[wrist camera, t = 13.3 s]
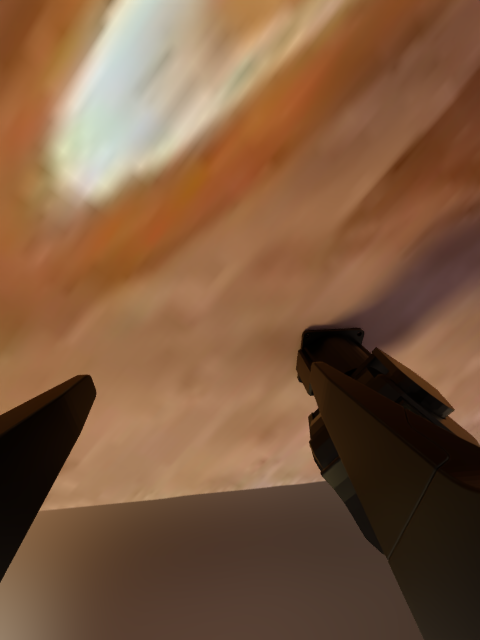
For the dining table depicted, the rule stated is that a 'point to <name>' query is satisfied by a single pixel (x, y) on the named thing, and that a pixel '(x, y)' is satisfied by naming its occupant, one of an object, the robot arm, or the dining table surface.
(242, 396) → the dining table surface
